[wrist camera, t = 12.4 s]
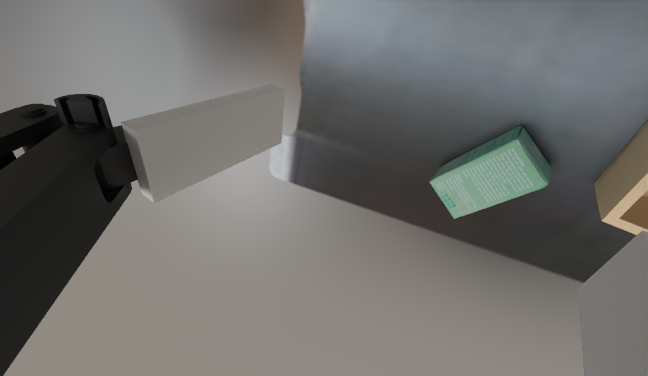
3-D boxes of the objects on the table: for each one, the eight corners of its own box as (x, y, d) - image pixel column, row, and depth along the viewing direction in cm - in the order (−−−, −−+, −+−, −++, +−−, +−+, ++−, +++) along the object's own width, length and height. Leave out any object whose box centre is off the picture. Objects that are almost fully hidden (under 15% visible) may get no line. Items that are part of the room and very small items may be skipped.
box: (553, 164, 41) (552, 186, 36) (464, 199, 51) (453, 220, 46) (524, 121, 41) (518, 137, 36) (440, 164, 51) (426, 182, 45)
